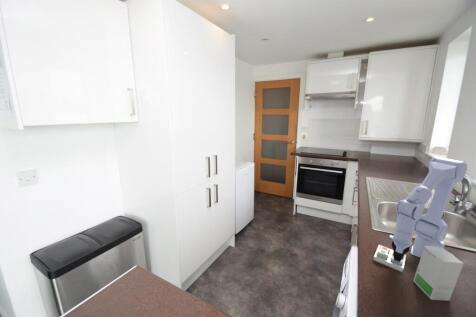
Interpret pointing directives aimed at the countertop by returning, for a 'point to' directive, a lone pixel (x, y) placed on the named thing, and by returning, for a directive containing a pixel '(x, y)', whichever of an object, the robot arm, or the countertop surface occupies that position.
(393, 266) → the keypad board
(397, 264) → the key slate
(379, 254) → the key sage
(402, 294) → the countertop surface
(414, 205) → the robot arm
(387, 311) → the countertop surface
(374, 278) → the countertop surface
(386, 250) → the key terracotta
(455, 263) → the skincare box
